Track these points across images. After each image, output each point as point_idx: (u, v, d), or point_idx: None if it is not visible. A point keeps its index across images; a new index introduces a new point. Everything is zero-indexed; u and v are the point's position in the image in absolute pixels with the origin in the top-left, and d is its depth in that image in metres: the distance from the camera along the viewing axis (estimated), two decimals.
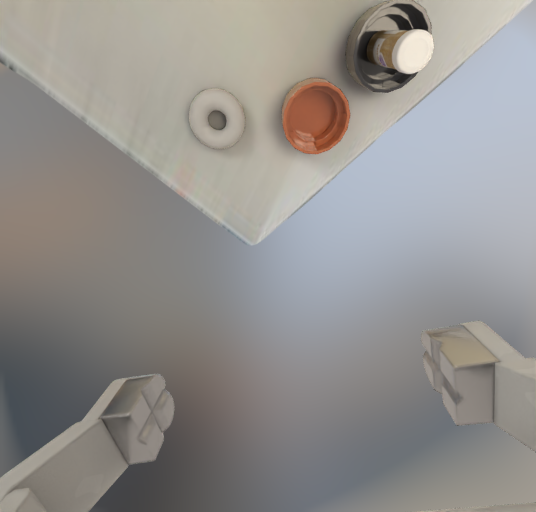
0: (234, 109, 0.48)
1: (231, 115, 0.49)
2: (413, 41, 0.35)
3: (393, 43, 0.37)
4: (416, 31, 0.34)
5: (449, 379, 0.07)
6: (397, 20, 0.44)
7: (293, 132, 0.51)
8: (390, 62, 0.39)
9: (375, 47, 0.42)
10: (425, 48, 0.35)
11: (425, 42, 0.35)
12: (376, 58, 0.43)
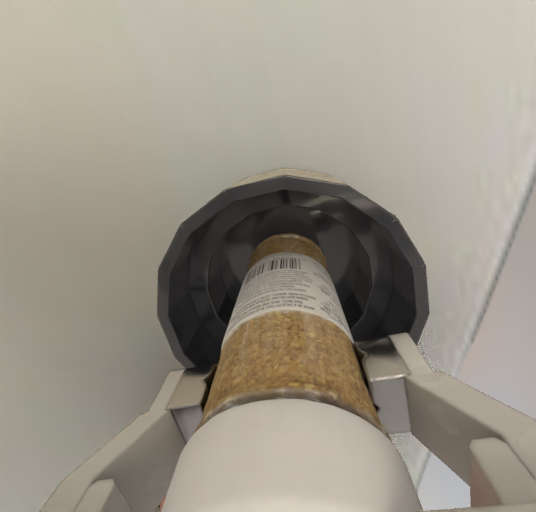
0: None
1: None
2: None
3: None
4: None
5: None
6: None
7: None
8: None
9: None
10: None
11: None
12: None
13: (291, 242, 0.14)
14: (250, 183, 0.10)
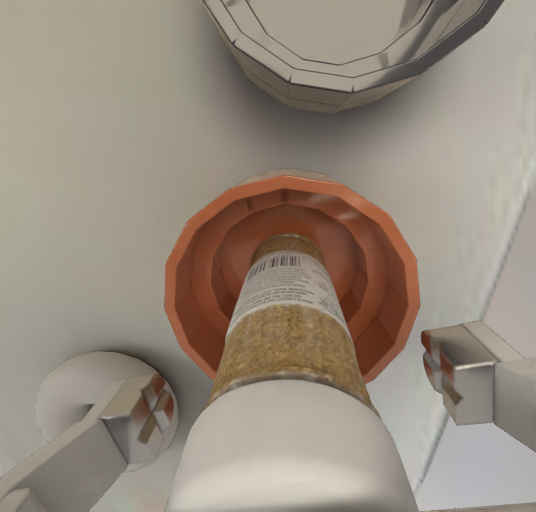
0: (104, 389, 0.18)
1: None
2: None
3: None
4: (180, 504, 0.04)
5: (449, 379, 0.07)
6: None
7: None
8: None
9: None
10: None
11: None
12: None
13: (291, 241, 0.15)
14: None
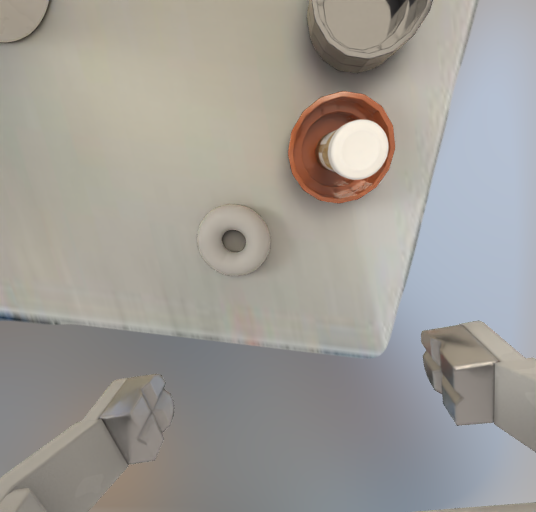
0: (240, 216, 0.36)
1: (241, 225, 0.36)
2: (344, 144, 0.22)
3: (328, 157, 0.26)
4: (338, 133, 0.22)
5: (449, 379, 0.07)
6: None
7: (325, 187, 0.34)
8: None
9: (322, 163, 0.32)
10: (368, 136, 0.22)
11: (362, 132, 0.22)
12: None
13: None
14: None
